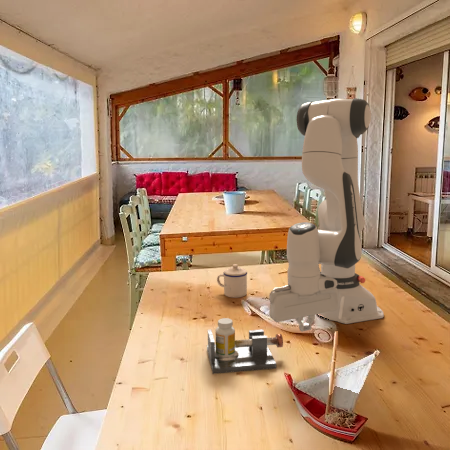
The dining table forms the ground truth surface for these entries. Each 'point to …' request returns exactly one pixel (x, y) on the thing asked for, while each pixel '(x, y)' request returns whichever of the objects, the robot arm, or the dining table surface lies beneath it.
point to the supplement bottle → (225, 338)
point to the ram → (270, 341)
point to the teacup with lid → (234, 281)
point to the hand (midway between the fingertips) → (305, 330)
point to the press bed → (242, 355)
